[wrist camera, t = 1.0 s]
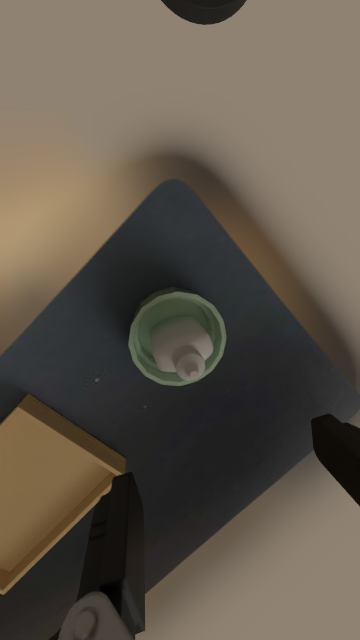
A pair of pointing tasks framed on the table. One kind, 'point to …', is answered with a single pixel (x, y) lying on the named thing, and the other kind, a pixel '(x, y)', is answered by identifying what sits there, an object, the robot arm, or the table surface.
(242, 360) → the table surface
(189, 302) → the bowl
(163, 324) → the eye dropper bottle
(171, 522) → the table surface
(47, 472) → the tray
